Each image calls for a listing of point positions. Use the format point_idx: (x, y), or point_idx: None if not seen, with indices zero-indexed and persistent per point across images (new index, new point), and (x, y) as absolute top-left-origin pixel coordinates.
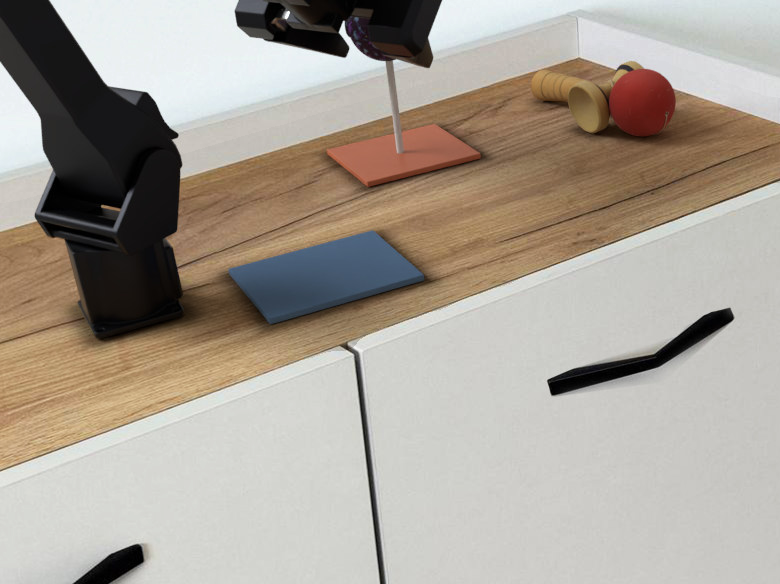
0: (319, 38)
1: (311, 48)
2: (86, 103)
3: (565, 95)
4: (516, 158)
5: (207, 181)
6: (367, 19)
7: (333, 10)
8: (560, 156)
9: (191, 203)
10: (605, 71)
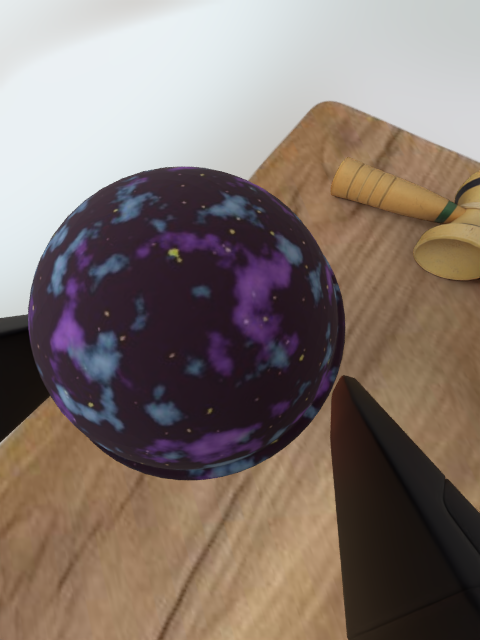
0: (13, 393)
1: (9, 432)
2: None
3: (387, 208)
4: (379, 355)
5: (17, 465)
6: (160, 467)
7: None
8: (430, 344)
9: (9, 551)
10: (364, 119)
